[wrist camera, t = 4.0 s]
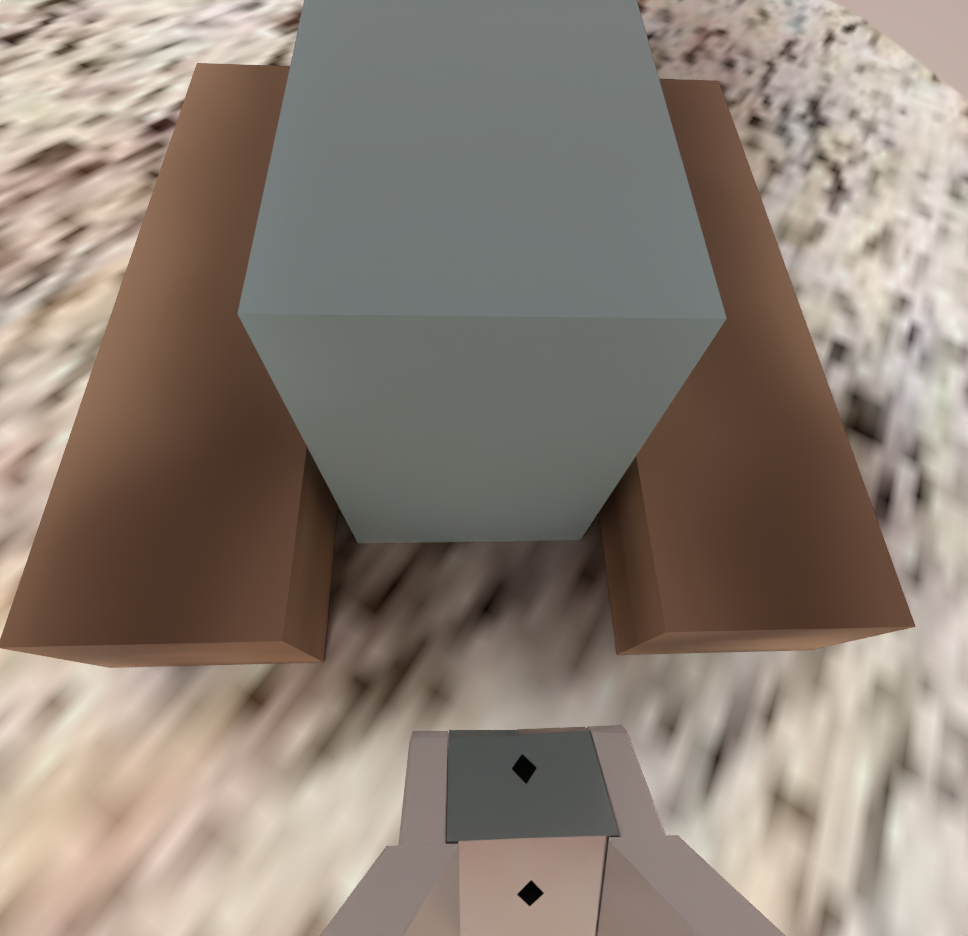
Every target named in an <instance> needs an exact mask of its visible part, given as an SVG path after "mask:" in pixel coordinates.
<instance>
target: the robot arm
mask: <svg viewBox="0 0 968 936" xmlns="http://www.w3.org/2000/svg"><path fill="white" fill-rule="evenodd" d="M320 936H785V935H784V934H783V933H782V932H781V931H780V930H779V929H778V928H777V927H776V926H775V925H774V924H772V923H771V922H770V921H769V920H768V919H767V918H766V917H765V916H764V915H763V914H762V913H761V912H760V911H758V910H757V909H756V908H755V907H754V906H753V905H752V904H751V903H750V902H749V901H748V900H747V899H746V898H744V897H743V896H742V895H741V894H740V893H739V892H738V891H737V890H736V889H735V888H734V887H733V886H732V885H731V884H729V883H728V882H727V881H726V880H725V879H724V878H723V877H722V876H721V875H720V874H719V873H718V872H717V871H715V870H714V869H713V868H712V867H711V866H710V865H709V864H708V863H707V862H706V861H705V860H704V859H703V858H701V857H700V856H699V855H698V854H697V853H696V852H695V851H694V850H693V849H692V848H691V847H690V846H689V845H687V844H686V843H685V842H684V841H683V840H682V839H681V838H680V837H679V836H678V835H666V834H665V831H664V829H663V826H662V823H661V821H660V818H659V815H658V813H657V810H656V807H655V805H654V802H653V799H652V797H651V794H650V791H649V789H648V786H647V783H646V781H645V778H644V775H643V773H642V770H641V767H640V765H639V762H638V759H637V757H636V754H635V751H634V749H633V746H632V743H631V741H630V738H629V735H628V733H627V731H626V729H625V728H624V727H623V726H622V725H618V726H593V727H587V728H585V727H567V728H542V729H517V730H449V735H448V731H413V732H412V735H411V738H410V743H409V752H408V761H407V771H406V780H405V789H404V799H403V808H402V817H401V827H400V836H399V845H397V846H386V848H385V849H384V850H383V852H382V853H381V854H380V856H379V857H378V858H377V860H376V861H375V862H374V864H373V865H372V866H371V868H370V869H369V870H368V872H367V873H366V874H365V876H364V877H363V878H362V880H361V881H360V882H359V884H358V885H357V886H356V888H355V889H354V891H353V892H352V893H351V895H350V896H349V897H348V899H347V900H346V901H345V903H344V904H343V905H342V907H341V908H340V909H339V911H338V912H337V913H336V915H335V916H334V917H333V919H332V920H331V921H330V923H329V924H328V925H327V927H326V928H325V929H324V931H323V932H322V933H321V935H320Z"/></svg>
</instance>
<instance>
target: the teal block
mask: <svg viewBox="0 0 968 936" xmlns="http://www.w3.org/2000/svg"><path fill="white" fill-rule="evenodd" d="M238 316H239V318H240V320H241V322H242V324H243V325H244V327H245V329H246V331H247V333H248V335H249V337H250V339H251V341H252V343H253V345H254V346H255V348H256V350H257V352H258V354H259V356H260V358H261V360H262V362H263V364H264V365H265V367H266V369H267V371H268V373H269V375H270V377H271V379H272V381H273V383H274V385H275V386H276V388H277V390H278V392H279V394H280V396H281V398H282V400H283V402H284V404H285V405H286V407H287V409H288V411H289V413H290V415H291V417H292V419H293V421H294V423H295V425H296V426H297V428H298V430H299V432H300V434H301V436H302V438H303V440H304V442H305V444H306V445H307V447H308V449H309V451H310V453H311V455H312V457H313V459H314V461H315V463H316V464H317V466H318V468H319V470H320V472H321V474H322V476H323V478H324V480H325V482H326V484H327V485H328V487H329V489H330V491H331V493H332V495H333V497H334V499H335V501H336V503H337V504H338V506H339V508H340V510H341V512H342V514H343V516H344V518H345V520H346V522H347V524H348V525H349V527H350V529H351V531H352V533H353V535H354V537H355V539H356V541H357V543H423V542H498V541H573V540H581V538H582V537H583V535H584V534H585V532H586V531H587V529H588V528H589V526H590V525H591V523H592V522H593V520H594V519H595V517H596V516H597V514H598V512H599V511H600V509H601V508H602V506H603V505H604V503H605V502H606V500H607V499H608V497H609V496H610V494H611V493H612V491H613V490H614V488H615V487H616V485H617V484H618V482H619V481H620V479H621V478H622V476H623V475H624V473H625V472H626V470H627V469H628V467H629V466H630V464H631V463H632V461H633V460H634V458H635V457H636V455H637V454H638V452H639V450H640V449H641V447H642V446H643V444H644V443H645V441H646V440H647V438H648V437H649V435H650V434H651V432H652V431H653V429H654V428H655V426H656V425H657V423H658V422H659V420H660V419H661V417H662V416H663V414H664V413H665V411H666V410H667V408H668V407H669V405H670V404H671V402H672V401H673V399H674V398H675V396H676V395H677V393H678V391H679V390H680V388H681V387H682V385H683V384H684V382H685V381H686V379H687V378H688V376H689V375H690V373H691V372H692V370H693V369H694V367H695V366H696V364H697V363H698V361H699V360H700V358H701V357H702V355H703V354H704V352H705V351H706V349H707V348H708V346H709V345H710V343H711V342H712V340H713V339H714V337H715V336H716V334H717V332H718V331H719V329H720V328H721V326H722V325H723V323H724V322H725V320H726V319H727V318H726V315H725V311H724V308H723V304H722V300H721V297H720V293H719V290H718V286H717V283H716V279H715V276H714V272H713V269H712V265H711V261H710V258H709V254H708V251H707V247H706V244H705V240H704V237H703V233H702V230H701V226H700V222H699V219H698V215H697V212H696V208H695V205H694V201H693V198H692V194H691V191H690V187H689V184H688V180H687V176H686V173H685V169H684V166H683V162H682V159H681V155H680V152H679V148H678V145H677V141H676V137H675V134H674V130H673V127H672V123H671V120H670V116H669V113H668V109H667V106H666V102H665V99H664V95H663V91H662V88H661V84H660V81H659V77H658V74H657V70H656V67H655V63H654V60H653V56H652V52H651V49H650V45H649V42H648V38H647V35H646V31H645V28H644V24H643V21H642V17H641V14H640V10H639V6H638V3H637V0H304V4H303V9H302V14H301V18H300V23H299V28H298V32H297V37H296V42H295V46H294V51H293V56H292V60H291V65H290V70H289V74H288V79H287V84H286V89H285V93H284V98H283V103H282V107H281V112H280V117H279V121H278V126H277V131H276V135H275V140H274V145H273V149H272V154H271V159H270V164H269V168H268V173H267V178H266V182H265V187H264V192H263V196H262V201H261V206H260V210H259V215H258V220H257V224H256V229H255V234H254V239H253V243H252V248H251V253H250V257H249V262H248V267H247V271H246V276H245V281H244V285H243V290H242V295H241V299H240V304H239V309H238Z"/></svg>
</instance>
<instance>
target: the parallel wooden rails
mask: <svg viewBox="0 0 968 936" xmlns="http://www.w3.org/2000/svg"><path fill="white" fill-rule="evenodd" d="M289 70H290V66H266V65H236V64H207V63H197V65H196V68H195V71H194V74H193V76H192V79H191V82H190V85H189V88H188V91H187V94H186V97H185V100H184V103H183V106H182V109H181V112H180V115H179V117H178V120H177V123H176V126H175V129H174V132H173V135H172V138H171V141H170V144H169V147H168V150H167V153H166V156H165V158H164V161H163V164H162V167H161V170H160V173H159V176H158V179H157V182H156V185H155V188H154V191H153V194H152V197H151V199H150V202H149V205H148V208H147V211H146V214H145V217H144V220H143V223H142V226H141V229H140V232H139V235H138V238H137V240H136V243H135V246H134V249H133V252H132V255H131V258H130V261H129V264H128V267H127V270H126V273H125V276H124V279H123V281H122V284H121V287H120V290H119V293H118V296H117V299H116V302H115V305H114V308H113V311H112V314H111V317H110V320H109V322H108V325H107V328H106V331H105V334H104V337H103V340H102V343H101V346H100V349H99V352H98V355H97V358H96V361H95V363H94V366H93V369H92V372H91V375H90V378H89V381H88V384H87V387H86V390H85V393H84V396H83V399H82V402H81V404H80V407H79V410H78V413H77V416H76V419H75V422H74V425H73V428H72V431H71V434H70V437H69V440H68V443H67V445H66V448H65V451H64V454H63V457H62V460H61V463H60V466H59V469H58V472H57V475H56V478H55V481H54V484H53V486H52V489H51V492H50V495H49V498H48V501H47V504H46V507H45V510H44V513H43V516H42V519H41V522H40V525H39V527H38V530H37V533H36V536H35V539H34V542H33V545H32V548H31V551H30V554H29V557H28V560H27V563H26V566H25V569H24V571H23V574H22V577H21V580H20V583H19V586H18V589H17V592H16V595H15V598H14V601H13V604H12V607H11V610H10V612H9V615H8V618H7V621H6V624H5V627H4V630H3V633H2V636H1V639H0V648H2V649H8V650H13V651H19V652H25V653H30V654H36V655H41V656H47V657H53V658H58V659H64V660H70V661H75V662H81V663H87V664H92V665H98V666H103V667H109V668H113V667H153V666H192V665H232V664H272V663H312V662H324V654H325V643H326V632H327V621H328V611H329V600H330V589H331V578H332V568H333V557H334V546H335V535H336V525H337V514H338V504H337V503H336V501H335V499H334V497H333V495H332V493H331V491H330V489H329V487H328V485H327V484H326V482H325V480H324V478H323V476H322V474H321V472H320V470H319V468H318V466H317V464H316V463H315V461H314V459H313V457H312V455H311V453H310V451H309V449H308V447H307V445H306V444H305V442H304V440H303V438H302V436H301V434H300V432H299V430H298V428H297V426H296V425H295V423H294V421H293V419H292V417H291V415H290V413H289V411H288V409H287V407H286V405H285V404H284V402H283V400H282V398H281V396H280V394H279V392H278V390H277V388H276V386H275V385H274V383H273V381H272V379H271V377H270V375H269V373H268V371H267V369H266V367H265V365H264V364H263V362H262V360H261V358H260V356H259V354H258V352H257V350H256V348H255V346H254V345H253V343H252V341H251V339H250V337H249V335H248V333H247V331H246V329H245V327H244V325H243V324H242V322H241V320H240V318H239V316H238V309H239V304H240V299H241V295H242V290H243V285H244V281H245V276H246V271H247V267H248V262H249V257H250V253H251V248H252V243H253V239H254V234H255V229H256V224H257V220H258V215H259V210H260V206H261V201H262V196H263V192H264V187H265V182H266V178H267V173H268V168H269V164H270V159H271V154H272V149H273V145H274V140H275V135H276V131H277V126H278V121H279V117H280V112H281V107H282V103H283V98H284V93H285V89H286V84H287V79H288V74H289ZM659 81H660V84H661V88H662V91H663V95H664V99H665V102H666V106H667V109H668V113H669V116H670V120H671V123H672V127H673V130H674V134H675V137H676V141H677V145H678V148H679V152H680V155H681V159H682V162H683V166H684V169H685V173H686V176H687V180H688V184H689V187H690V191H691V194H692V198H693V201H694V205H695V208H696V212H697V215H698V219H699V222H700V226H701V230H702V233H703V237H704V240H705V244H706V247H707V251H708V254H709V258H710V261H711V265H712V269H713V272H714V276H715V279H716V283H717V286H718V290H719V293H720V297H721V300H722V304H723V308H724V311H725V315H726V318H727V319H726V320H725V322H724V323H723V325H722V326H721V328H720V329H719V331H718V332H717V334H716V336H715V337H714V339H713V340H712V342H711V343H710V345H709V346H708V348H707V349H706V351H705V352H704V354H703V355H702V357H701V358H700V360H699V361H698V363H697V364H696V366H695V367H694V369H693V370H692V372H691V373H690V375H689V376H688V378H687V379H686V381H685V382H684V384H683V385H682V387H681V388H680V390H679V391H678V393H677V395H676V396H675V398H674V399H673V401H672V402H671V404H670V405H669V407H668V408H667V410H666V411H665V413H664V414H663V416H662V417H661V419H660V420H659V422H658V423H657V425H656V426H655V428H654V429H653V431H652V432H651V434H650V435H649V437H648V438H647V440H646V441H645V443H644V444H643V446H642V447H641V449H640V450H639V452H638V454H637V455H636V457H635V458H634V460H633V461H632V463H631V464H630V466H629V467H628V469H627V470H626V472H625V473H624V475H623V476H622V478H621V479H620V481H619V482H618V484H617V485H616V487H615V488H614V490H613V491H612V493H611V494H610V496H609V497H608V499H607V500H606V502H605V503H604V505H603V506H602V508H601V509H600V511H599V519H600V527H601V534H602V542H603V550H604V558H605V566H606V573H607V581H608V589H609V597H610V605H611V613H612V620H613V628H614V636H615V644H616V652H617V655H631V654H671V653H711V652H750V651H790V650H813V649H817V648H822V647H826V646H831V645H835V644H840V643H844V642H849V641H853V640H858V639H862V638H867V637H871V636H876V635H880V634H885V633H889V632H894V631H898V630H903V629H907V628H912V627H915V624H914V621H913V618H912V616H911V613H910V610H909V607H908V605H907V602H906V599H905V596H904V593H903V591H902V588H901V585H900V582H899V580H898V577H897V574H896V571H895V569H894V566H893V563H892V560H891V557H890V555H889V552H888V549H887V546H886V544H885V541H884V538H883V535H882V533H881V530H880V527H879V524H878V521H877V519H876V516H875V513H874V510H873V508H872V505H871V502H870V499H869V497H868V494H867V491H866V488H865V485H864V483H863V480H862V477H861V474H860V472H859V469H858V466H857V463H856V461H855V458H854V455H853V452H852V449H851V447H850V444H849V441H848V438H847V436H846V433H845V430H844V427H843V424H842V422H841V419H840V416H839V413H838V411H837V408H836V405H835V402H834V400H833V397H832V394H831V391H830V388H829V386H828V383H827V380H826V377H825V375H824V372H823V369H822V366H821V364H820V361H819V358H818V355H817V352H816V350H815V347H814V344H813V341H812V339H811V336H810V333H809V330H808V328H807V325H806V322H805V319H804V316H803V314H802V311H801V308H800V305H799V303H798V300H797V297H796V294H795V292H794V289H793V286H792V283H791V280H790V278H789V275H788V272H787V269H786V267H785V264H784V261H783V258H782V255H781V253H780V250H779V247H778V244H777V242H776V239H775V236H774V233H773V231H772V228H771V225H770V222H769V219H768V217H767V214H766V211H765V208H764V206H763V203H762V200H761V197H760V195H759V192H758V189H757V186H756V183H755V181H754V178H753V175H752V172H751V170H750V167H749V164H748V161H747V159H746V156H745V153H744V150H743V147H742V145H741V142H740V139H739V136H738V134H737V131H736V128H735V125H734V123H733V120H732V117H731V114H730V111H729V109H728V106H727V103H726V100H725V98H724V95H723V92H722V89H721V86H720V84H719V81H707V80H677V79H659Z"/></svg>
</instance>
